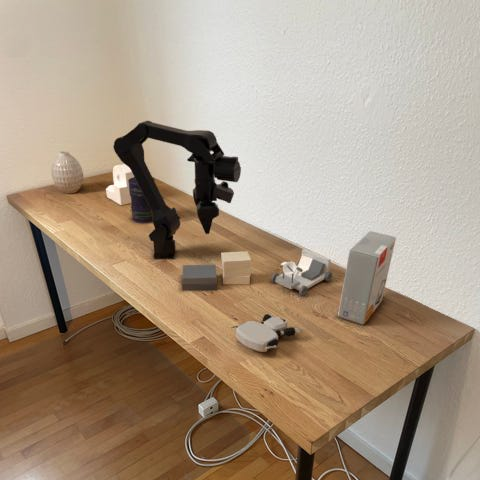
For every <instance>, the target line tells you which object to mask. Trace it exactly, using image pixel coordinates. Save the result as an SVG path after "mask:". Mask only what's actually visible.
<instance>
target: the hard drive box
mask: <svg viewBox="0 0 480 480" xmlns="http://www.w3.org/2000/svg"><path fill="white" fill-rule="evenodd" d="M396 240H397V236H393V235H390V234H385V233H382V232H381V233H380V232H377V231H372V230H369V232H367V233H366V234H365V235H364V236H363V237H362V238H361V239H360V240H359V241H358V242H357V243H356V244H355V245H354V246H352V248H350V249H349V251H348V256H347V262H346V267H345V274H344V279H343V283H342V284H343V285H342V290H341V296H340V301H339V305H338V312H337V317H339V318H341V319H344V320H347V321H350V322H352V323H353V322H354V323H356V324H360V325H362V326H363V325H365V324H366V322H367V321H368V320H369V319H370V317H371V316H372V315H373V313H374V312H375V311H376V309H377V308H378V307H379V305H380V304H381V303H382V301H383V297H384V293H385V288H386V285H387V284H386V283H387V280H388V275H389V271H390V266H391V261H392V257H393V254H394V248H395V245H396Z"/></svg>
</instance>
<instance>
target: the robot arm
mask: <svg viewBox="0 0 480 480" xmlns="http://www.w3.org/2000/svg"><path fill="white" fill-rule="evenodd" d="M148 139H151V140H155V141H159V142H163V143H167V144H171V145H174V146H180V147H182V148H184V149H185V150H186V151H187V152H189V153H191V155H190V156H189V157H188V158H187V159H186V160H187V162H190V163H194V188H193V189H192V198H193V202H194V204H195V208H196V215H197V218H198V220H199V222H200V224H201V227H202V229H203V231H204V234H206V235H209V234H210V232H211V227H212V224H213V220H214V219H215V218H218V216H220V208H219V205H218V204H217V203H216V202H217V201H218V200H219V201H223V202H226V203H228V204H231V203H232V200H233V197H234V195H235V191H234V190H233V189H232V187H229V183H230V182H231V183H239V180H240V177H241V173H242V167H241V163H240V161H239V157H238V156H227V155H225V153H224V151H223V149H222V148H221V146H220V145H219V143H218V140H217V136H216V135H215V133H214V132H212V131H211V130H205V129H204V130H202V129H200V130H199V129H193V130H186V129H182V128H178V127H173V126H170V125H169V126H168V125H165V124H160V123H156V122H152V121H150V120H144V121H141V122H139V123H138V124H137V125H136V126H135V127H134V128H133V129H131V130H130V131H128V132H127V133H126V134H124V135H122V136H119V137H117V138H116V139H115V140H114V142H113V145H112V146H113V151H114V153H115V154H116V156H117V157H118V159H119V160H120V161H121V162H122V163H123V164H125V165H127V166H128V167H129V168H130V169H131V171H132V173H133V175H134V177H135V179H136V181H137V183H138V185H139V187H140V189H141V191H142V193H143V195H144V197H145V199H146V201H147V203H148V204H149V206H150V208H151V210H152V219H153V222H152V224H153V228H154V229H153V230H152V231H151V232H150V233H149V234H148V238H149V240H150V242H153V259H156V260H158V259H160V260H161V259H174V258H175V255H176V252H177V249H176V248H177V247H176V245H177V244H176V240H175V239H174V235H175V234H176V233H177V231H178V230H179V229H180V226H181V220H180V219H181V217H180V216H179V213H178V212H177V209H176V207H175V206H174V207H171V208H170V206H168V205H167V204H166V202H165V200H164V198H163V196H162V194H161V192H160V190H159V188H158V185H157V184H156V181H155V182H154V180H153V178H154V177H153V176H152V174H151V172H150V169H149V167H148V166H147V163H146V160H145V149H144V147H143V144H144V143H145V142H147V140H148ZM211 152H212V153H211ZM216 179H217V180H218V181H221V183H217V182H216ZM228 182H229V183H228Z"/></svg>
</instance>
